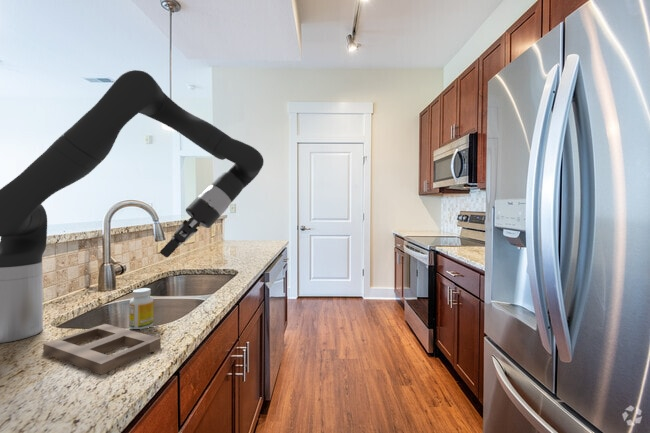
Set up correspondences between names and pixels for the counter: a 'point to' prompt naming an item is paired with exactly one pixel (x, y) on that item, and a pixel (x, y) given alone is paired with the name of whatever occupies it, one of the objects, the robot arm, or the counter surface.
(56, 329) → the counter surface
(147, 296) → the supplement bottle
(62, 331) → the counter surface
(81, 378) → the counter surface
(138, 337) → the brown flat two-opening frame
